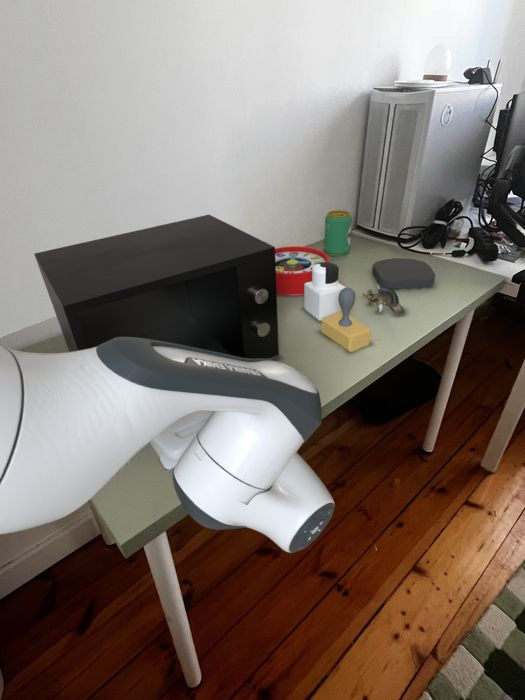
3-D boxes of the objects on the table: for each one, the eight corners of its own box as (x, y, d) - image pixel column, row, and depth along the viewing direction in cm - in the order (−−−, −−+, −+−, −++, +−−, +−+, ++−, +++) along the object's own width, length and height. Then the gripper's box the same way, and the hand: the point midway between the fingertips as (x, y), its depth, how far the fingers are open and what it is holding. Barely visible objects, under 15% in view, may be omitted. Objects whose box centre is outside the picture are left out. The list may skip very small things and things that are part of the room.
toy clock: (251, 274, 111) (259, 246, 128) (253, 295, 114) (260, 265, 131) (330, 274, 109) (328, 245, 125) (329, 295, 112) (327, 264, 129)
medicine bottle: (328, 302, 109) (330, 257, 102) (344, 314, 104) (347, 267, 97) (303, 309, 107) (303, 263, 100) (319, 321, 101) (320, 274, 94)
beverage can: (349, 256, 133) (351, 217, 126) (323, 256, 134) (324, 217, 128) (350, 247, 139) (352, 209, 133) (325, 246, 141) (326, 209, 134)
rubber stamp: (320, 332, 97) (321, 283, 90) (340, 324, 100) (343, 276, 93) (349, 352, 90) (353, 301, 83) (370, 343, 92) (375, 293, 86)
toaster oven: (107, 434, 73) (64, 309, 60) (72, 360, 93) (34, 253, 80) (282, 361, 89) (279, 248, 75) (220, 310, 108) (209, 214, 95)
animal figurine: (359, 310, 102) (397, 312, 97) (363, 280, 102) (401, 281, 97) (371, 314, 109) (407, 317, 103) (375, 286, 109) (411, 287, 103)
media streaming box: (381, 290, 113) (382, 280, 111) (369, 268, 125) (370, 258, 123) (438, 288, 112) (440, 277, 111) (420, 265, 125) (422, 256, 123)
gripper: (173, 494, 55) (137, 431, 65) (301, 429, 64) (253, 382, 74) (164, 460, 52) (128, 399, 62) (301, 396, 61) (250, 351, 70)
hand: (197, 389), depth 68 cm, fingers open, 8 cm apart
